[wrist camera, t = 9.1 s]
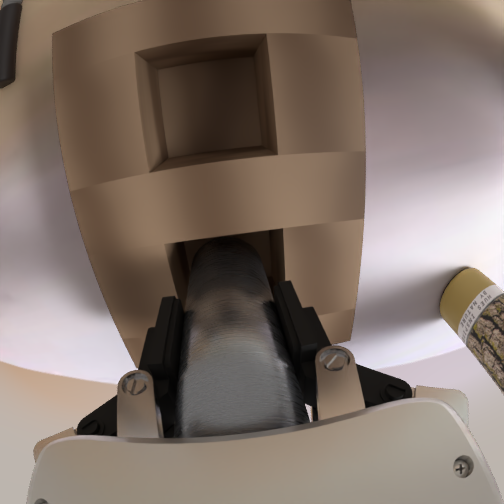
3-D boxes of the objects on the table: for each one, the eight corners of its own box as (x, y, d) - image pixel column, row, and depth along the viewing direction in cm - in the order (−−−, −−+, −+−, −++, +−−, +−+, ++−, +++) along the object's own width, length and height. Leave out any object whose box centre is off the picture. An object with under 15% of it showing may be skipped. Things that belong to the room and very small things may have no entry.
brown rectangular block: (311, 24, 14) (348, -8, 8) (323, 290, 23) (350, 340, 17) (97, 53, 13) (52, 33, 8) (151, 313, 22) (136, 368, 16)
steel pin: (259, 232, 15) (336, 454, 5) (264, 294, 17) (318, 494, 6) (184, 242, 15) (147, 474, 4) (198, 303, 17) (194, 509, 6)
